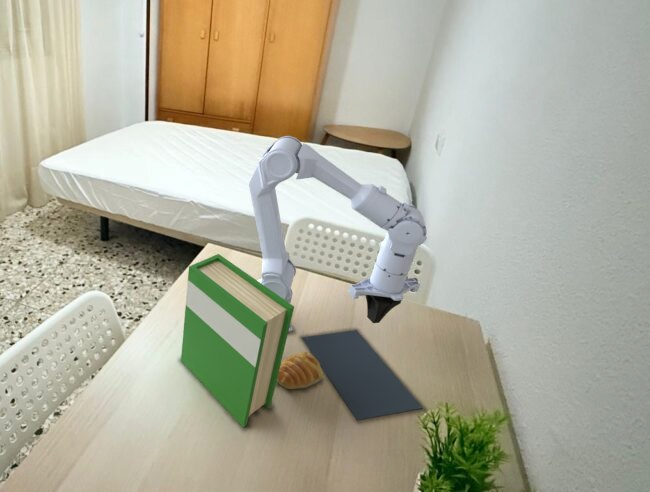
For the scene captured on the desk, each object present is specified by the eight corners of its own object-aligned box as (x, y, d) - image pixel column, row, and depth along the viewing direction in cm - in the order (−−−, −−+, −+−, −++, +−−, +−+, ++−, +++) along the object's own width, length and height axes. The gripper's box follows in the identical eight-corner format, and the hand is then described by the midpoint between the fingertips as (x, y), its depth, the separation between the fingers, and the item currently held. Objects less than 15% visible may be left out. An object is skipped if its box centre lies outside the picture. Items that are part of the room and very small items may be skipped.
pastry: (291, 400, 76) (295, 386, 75) (266, 374, 82) (269, 360, 80) (324, 380, 81) (328, 366, 79) (298, 356, 86) (302, 343, 84)
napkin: (301, 337, 91) (301, 337, 91) (356, 330, 93) (356, 329, 93) (357, 420, 73) (357, 419, 73) (422, 408, 76) (422, 407, 76)
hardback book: (270, 405, 75) (294, 306, 65) (243, 427, 71) (263, 325, 61) (207, 345, 88) (218, 253, 77) (180, 360, 84) (188, 266, 73)
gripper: (372, 283, 73) (354, 338, 79) (440, 275, 75) (417, 329, 81) (349, 260, 79) (333, 313, 85) (412, 254, 82) (392, 305, 88)
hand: (373, 319), depth 84 cm, fingers closed
